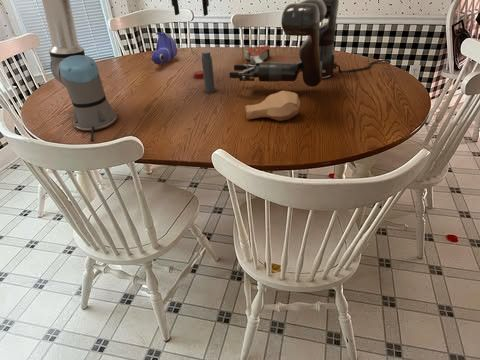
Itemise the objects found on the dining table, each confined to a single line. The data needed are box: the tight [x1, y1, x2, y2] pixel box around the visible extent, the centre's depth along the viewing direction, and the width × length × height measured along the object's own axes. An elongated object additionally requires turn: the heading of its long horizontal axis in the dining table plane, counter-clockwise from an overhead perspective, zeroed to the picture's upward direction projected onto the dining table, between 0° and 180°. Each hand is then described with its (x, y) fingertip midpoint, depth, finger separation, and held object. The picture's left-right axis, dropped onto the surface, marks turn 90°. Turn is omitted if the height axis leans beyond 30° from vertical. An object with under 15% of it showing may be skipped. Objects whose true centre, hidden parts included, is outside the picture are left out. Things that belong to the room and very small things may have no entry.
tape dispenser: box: [243, 45, 270, 64], centre depth 179 cm, size 18×5×20 cm
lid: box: [193, 70, 204, 79], centre depth 167 cm, size 5×5×2 cm
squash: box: [244, 90, 301, 122], centre depth 127 cm, size 11×20×9 cm, turn 92°
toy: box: [150, 31, 178, 69], centre depth 181 cm, size 10×17×25 cm
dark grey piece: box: [201, 50, 216, 94], centre depth 147 cm, size 4×4×16 cm
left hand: (191, 14), depth 151 cm, fingers open, 13 cm apart
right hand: (231, 71), depth 145 cm, fingers open, 8 cm apart
